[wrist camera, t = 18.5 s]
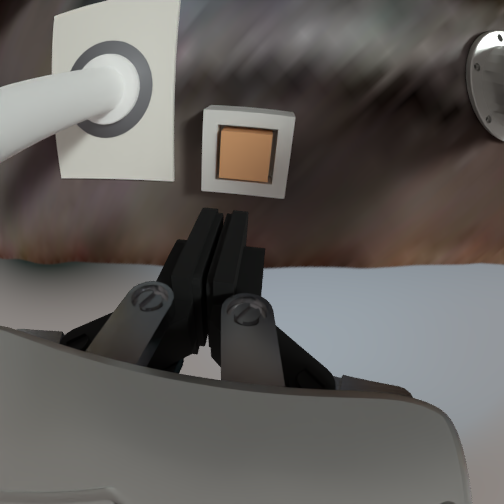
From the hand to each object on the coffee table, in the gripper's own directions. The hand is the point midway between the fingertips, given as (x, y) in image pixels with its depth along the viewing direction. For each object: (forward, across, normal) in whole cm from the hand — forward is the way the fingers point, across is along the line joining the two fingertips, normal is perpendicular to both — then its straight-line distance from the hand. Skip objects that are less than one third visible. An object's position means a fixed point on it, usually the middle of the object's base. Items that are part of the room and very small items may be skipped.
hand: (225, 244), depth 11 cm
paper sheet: (+17, +15, -5) cm, 23 cm away
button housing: (+17, +1, +1) cm, 17 cm away
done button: (+16, +1, +1) cm, 16 cm away
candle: (+17, +14, -5) cm, 23 cm away
